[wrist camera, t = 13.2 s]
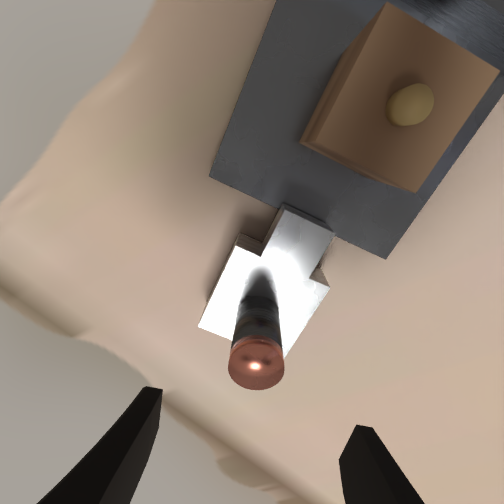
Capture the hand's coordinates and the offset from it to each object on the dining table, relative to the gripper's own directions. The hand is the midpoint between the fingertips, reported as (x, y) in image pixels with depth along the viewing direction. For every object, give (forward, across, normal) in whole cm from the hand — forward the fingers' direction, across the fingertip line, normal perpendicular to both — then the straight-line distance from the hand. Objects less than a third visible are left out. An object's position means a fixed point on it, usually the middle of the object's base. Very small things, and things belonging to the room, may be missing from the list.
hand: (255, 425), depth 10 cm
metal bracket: (+10, -3, -12) cm, 15 cm away
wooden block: (+9, -3, -12) cm, 15 cm away
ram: (+10, 0, -2) cm, 10 cm away
